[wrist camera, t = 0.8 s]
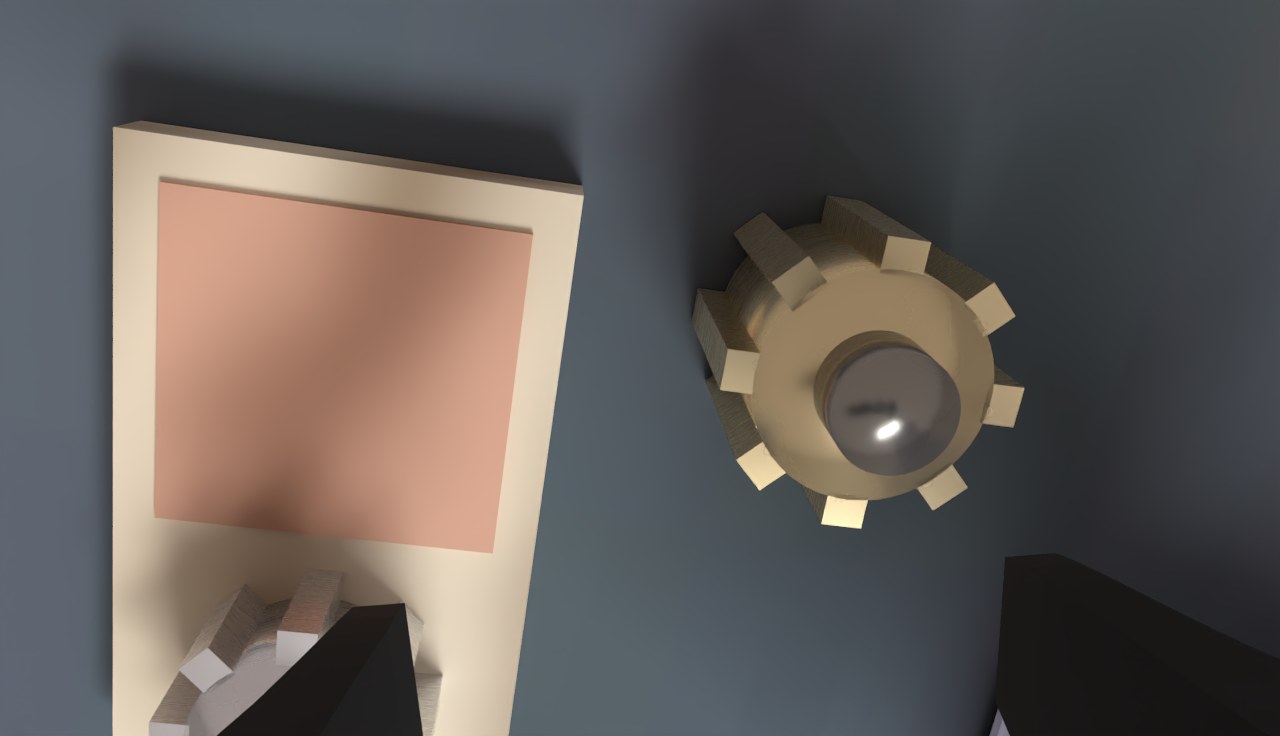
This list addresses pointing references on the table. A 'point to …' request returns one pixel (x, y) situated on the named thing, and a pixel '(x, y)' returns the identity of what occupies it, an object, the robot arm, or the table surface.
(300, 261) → the plate
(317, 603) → the sun gear
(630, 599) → the table surface
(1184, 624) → the robot arm
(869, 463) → the planet gear
